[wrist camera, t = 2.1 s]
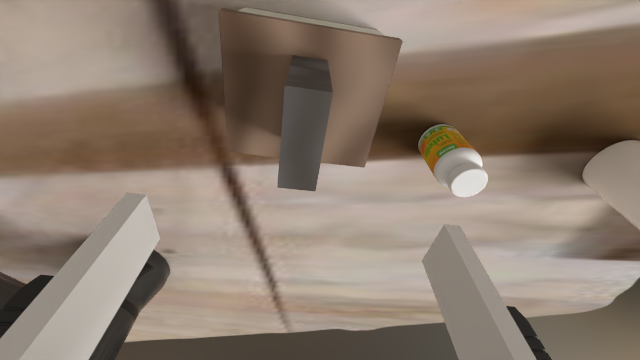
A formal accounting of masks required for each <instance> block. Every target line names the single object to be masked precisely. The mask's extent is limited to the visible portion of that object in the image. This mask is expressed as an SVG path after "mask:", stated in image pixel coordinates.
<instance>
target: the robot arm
mask: <svg viewBox="0 0 640 360" xmlns="http://www.w3.org/2000/svg"><path fill="white" fill-rule="evenodd" d="M159 239H160V237H159V234H158V231H157V228H156V224H155V221H154V218H153V215H152V212H151V208H150V205H149V202H148V199H147V196H146V195H143V194H133V193H126V194H125V195H124V197H123V198H122V199H121V200H120V201H119V202H118V203H117V205H116V206H115V207H114V208H113V209H112V210H111V212H110V213H109V214H108V215H107V216H106V217H105V218H104V220H103V221H102V222H101V223H100V224H99V225H98V227H97V228H96V229H95V230H94V231H93V232H92V233H91V235H90V236H89V237H88V238H87V239H86V240H85V241H84V243H83V244H82V245H81V246H80V247H79V248H78V250H77V251H76V252H75V253H74V254H73V255H72V256H71V258H70V259H69V260H68V261H67V262H66V263H65V265H64V266H63V267H62V268H61V269H60V270H59V271H58V273H57V274H56V275H55V276H49V275H40V276H38V277H37V278H35V279H34V280H32V281H31V282H29V283H28V284H25V283H23V282H21V281H18V280H16V279H14V278H12V277H10V276H8V275H6V274H4V273H1V272H0V360H115V359H116V357H117V355H118V353H119V351H120V349H121V347H122V345H123V343H124V341H125V339H126V338H127V336H128V334H129V332H130V330H131V328H132V326H133V324H134V322H135V320H136V318H137V316H138V314H139V312H140V311H141V310H142V309H143V308H144V306H145V305H146V304H147V303H148V302H149V301H150V300H151V299H152V298H153V297H154V296H155V295H156V294H157V293H158V291H159V290H160V289H161V288H162V287H163V286H164V284H165V282H166V280H167V278H168V276H169V274H170V268H169V265H168V263H167V262H166V260H165V259H164V258H163V257H162V256H161V255H160V254H158V253H157V252H156V251H154V248H155V246H156V244H157V243H158V241H159ZM422 262H423V265H424V267H425V270H426V273H427V275H428V278H429V281H430V283H431V286H432V289H433V291H434V294H435V297H436V299H437V302H438V305H439V307H440V310H441V313H442V315H443V318H444V321H445V323H446V326H447V329H448V332H449V334H450V337H451V340H452V342H453V345H454V348H455V350H456V353H457V356H458V358H459V360H552V359H551V358H550V356H549V355H548V353H546V352H545V348H544V346H543V345H542V343H541V342H540V340H538V339H537V335H536V334H535V332H534V330H533V329H532V327H531V325H530V324H529V322H528V321H527V320H526V318H525V317H524V316H523V315H522V314H521V313H520V312H519V311H518V310H517V309H516V308H515V307H510V306H506V305H505V304H504V302H503V300H502V298H501V297H500V295H499V293H498V292H497V290H496V288H495V286H494V285H493V283H492V281H491V279H490V278H489V276H488V274H487V272H486V271H485V269H484V267H483V265H482V264H481V262H480V260H479V259H478V257H477V255H476V253H475V252H474V250H473V248H472V246H471V245H470V243H469V241H468V239H467V238H466V236H465V234H464V232H463V231H462V229H461V227H460V226H454V225H444V226H443V228H442V229H441V231H440V232H439V234H438V236H437V237H436V239H435V241H434V242H433V244H432V245H431V247H430V249H429V250H428V252H427V254H426V255H425V257H424V258H423V260H422Z"/></svg>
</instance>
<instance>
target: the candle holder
mask: <svg viewBox="0 0 640 360" xmlns="http://www.w3.org/2000/svg"><path fill="white" fill-rule="evenodd" d="M582 178H583V180H584V182H585V183H586V184H587V185H588V186H589V187H590V188H591V189H592V190H594V191H595V192H596V193H597V194H598V195H599V196H600V197H602V198H603V199H604V200H605V201H606V202H607V203H608V204H610V205H611V206H612V207H613V208H614V209H615V210H617V211H618V212H619V213H620V214H621V215H622V216H623V217H625V218H626V219H627V220H628V221H629V222H630V223H632V224H633V225H634V226H635V227H636V228H637V229H638V230H640V141H638V140H627V141H622V142H618V143H616V144H613V145H611V146H609V147H607V148H605V149H603V150H602V151H600V152H599V153H597V154H596V155H595V156H594V157H593V158H592V159H591V160H590V161H589V162H588V163H587V165H586V166H585V168H584V170H583V173H582Z"/></svg>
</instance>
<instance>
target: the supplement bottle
mask: <svg viewBox="0 0 640 360" xmlns="http://www.w3.org/2000/svg"><path fill="white" fill-rule="evenodd" d="M418 148H419V151H420V153H421V155H422V156H423V158H424V160H425V161H426V163H427V165H428V166H429V168H430V170H431V171H432V173H433V175H434V176H435V178H436V179H437V181H438V182H439V183H440V184H442V185H443V186H446V187H448V188H449V189H450V190H451V192H452V193H453V194H454V195H456V196H459V197H468V196H472V195H475V194H477V193H478V192H480V191H481V190H482V189H483V188H484V187H485V186H486V184H487V182H488V175H487V173H486V172H485V171H484V169H483V168H482V159H481V157H480V155H479V154H478V153H477V152H476V150H475V149H474V148H473V147H472V146H471V145H470V144H469V143H468V142H467V141H466V140H465V139H464V138H463V137H462V136H461V134H460V133H459V132H458V131H457V130H456V129H455V128H454V127H452V126H450V125H446V124H440V125H435V126H433V127H431V128H429V129H428V130H426V131H425V132H424V133H423V135H422V136H421V138H420V140H419V144H418Z"/></svg>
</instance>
